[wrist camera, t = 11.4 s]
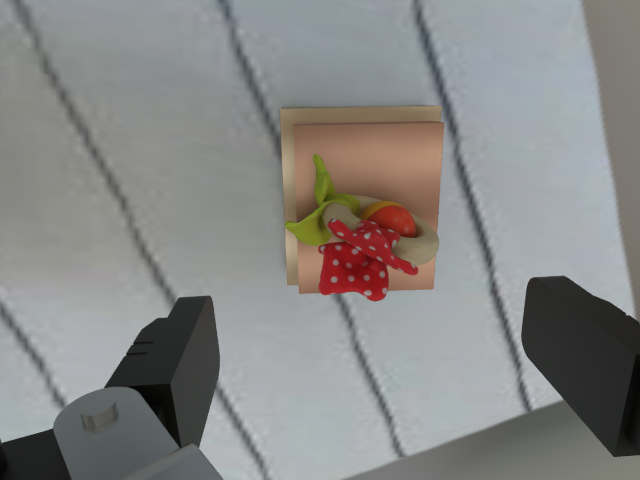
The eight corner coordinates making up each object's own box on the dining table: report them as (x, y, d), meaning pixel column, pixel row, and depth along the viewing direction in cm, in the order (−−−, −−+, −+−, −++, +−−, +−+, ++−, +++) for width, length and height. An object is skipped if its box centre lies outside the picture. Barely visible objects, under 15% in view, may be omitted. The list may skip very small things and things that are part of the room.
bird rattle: (392, 162, 32) (277, 146, 28) (515, 205, 23) (370, 191, 19) (373, 242, 34) (262, 239, 30) (479, 312, 25) (340, 322, 21)
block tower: (281, 108, 37) (277, 109, 29) (426, 105, 37) (460, 106, 29) (288, 268, 41) (285, 306, 33) (418, 263, 41) (445, 300, 34)
